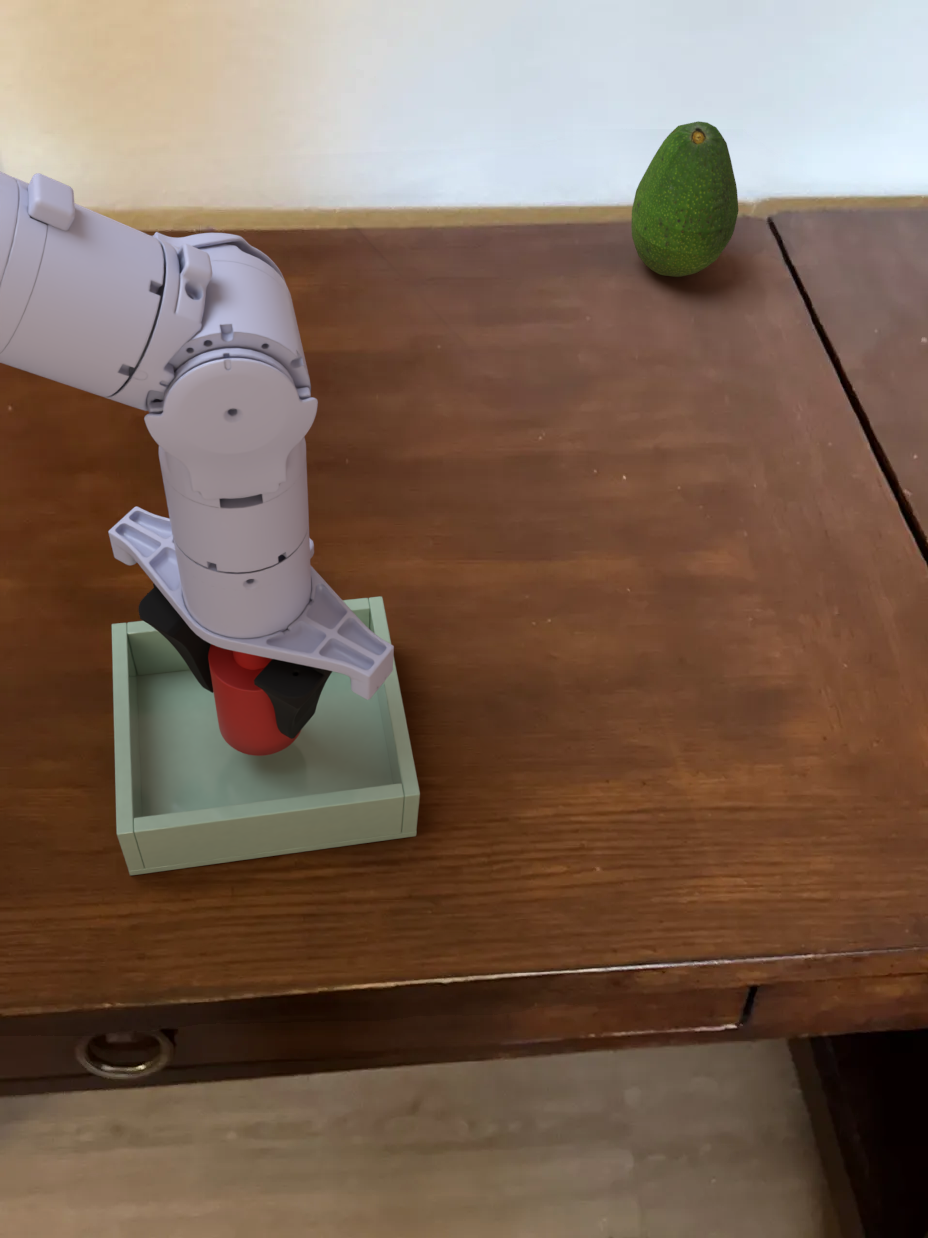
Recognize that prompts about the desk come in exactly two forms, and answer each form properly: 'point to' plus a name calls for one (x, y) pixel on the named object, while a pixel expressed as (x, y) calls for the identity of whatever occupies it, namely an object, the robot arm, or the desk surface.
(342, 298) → the desk surface
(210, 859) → the tray
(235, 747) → the bottle
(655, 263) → the fruit
